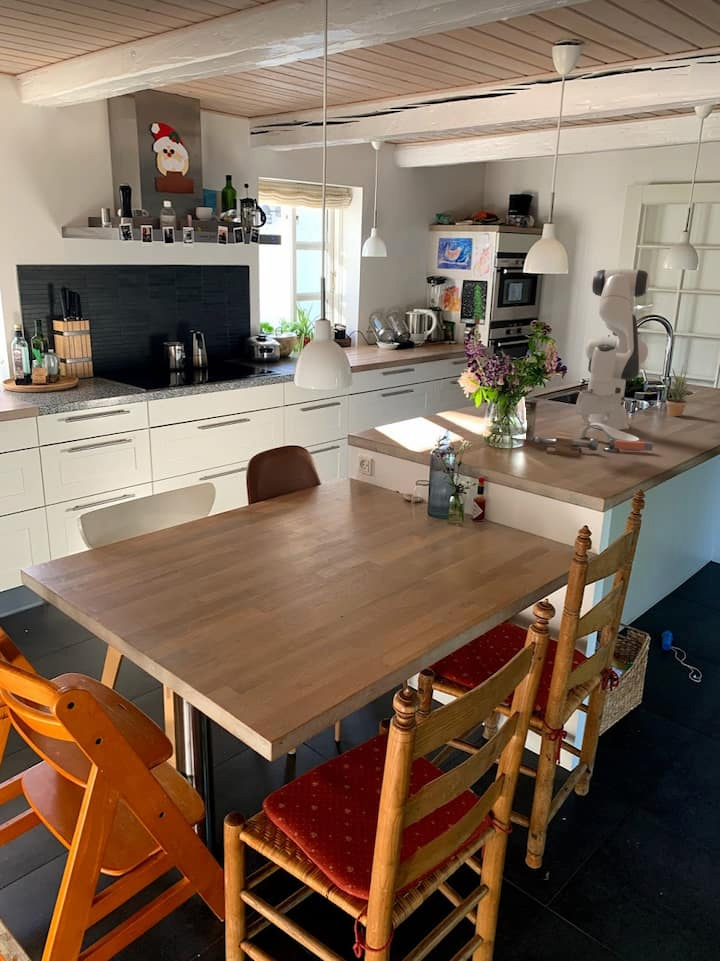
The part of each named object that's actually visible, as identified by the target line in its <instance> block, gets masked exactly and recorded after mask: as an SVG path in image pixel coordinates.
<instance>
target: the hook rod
mask: <svg viewBox="0 0 720 961" xmlns="http://www.w3.org/2000/svg"><path fill="white" fill-rule="evenodd" d="M533 441H534V443H535V444H536V445H540V444H544V445H548V444H552V445H556V439H553V438H552V439H551V438H541V437H539V436H537V437H535V438H533ZM598 445H599V439H598V438H592V437H591V438H590V439H589V442H584V441H576V440H575V441H574V440H572V446H573V447H580V448H584V449H585V448H586V449H587V448H588V450H590V451H598Z"/></svg>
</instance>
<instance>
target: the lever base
mask: <svg viewBox="0 0 720 961" xmlns="http://www.w3.org/2000/svg"><path fill="white" fill-rule="evenodd" d="M614 440H615V439H609V445H608V446H603V447H602V451H603V452H607V453H619V452H620V449H619V448H615V445H614Z"/></svg>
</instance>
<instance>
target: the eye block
mask: <svg viewBox="0 0 720 961" xmlns="http://www.w3.org/2000/svg"><path fill="white" fill-rule="evenodd" d="M573 436H574V431H562V430H561V431H560V430H557V432H556V438H555V440H556V445H552V444H547V448H546V454H550V455H558V456H559V455H560V456H569V457H570V456H571V457H580V448H581V447H573V446H572V441H573V439H574V437H573Z"/></svg>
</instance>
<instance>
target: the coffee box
mask: <svg viewBox="0 0 720 961" xmlns="http://www.w3.org/2000/svg"><path fill="white" fill-rule="evenodd" d="M524 399H525V407H526V420H527V431H526V440H525V441H529V442H530V441H531V442H532V441H534V439H535V438H534V437H535V426H536V418H537V410H538V400H537V399H531V398H524Z"/></svg>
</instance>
